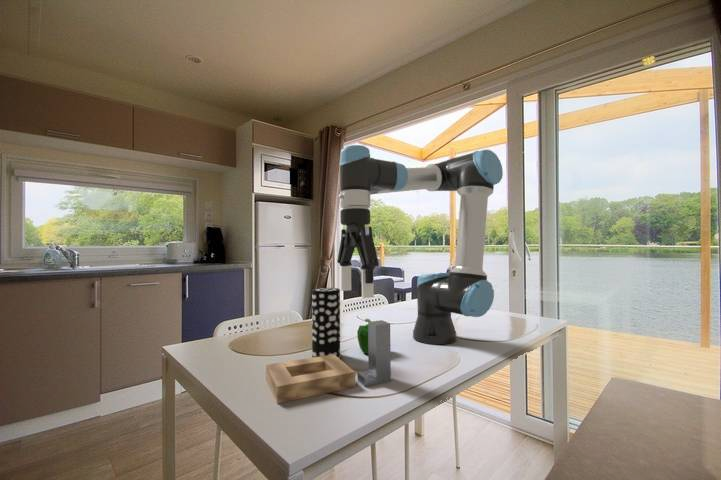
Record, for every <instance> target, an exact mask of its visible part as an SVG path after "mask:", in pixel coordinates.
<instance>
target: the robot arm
mask: <svg viewBox="0 0 721 480" xmlns="http://www.w3.org/2000/svg"><path fill="white" fill-rule="evenodd" d="M339 156H340V157H339V179H340V180H339V181H340V182H339V183H340V184H339V190H340V191H339V192H340V193H339V195H338V198H339V199H340V208H342V209H341V210H340V224H341V225H342V226H346V228H343V229H341V230H340V231H341V233H340V235H341V236H340V237H341V238H340V243H339V249H338V254H337V255H338V256H337V261H336V262H337V264H339V266H340V292H344V291H348V292H349V291H352V262H351V261H352V258H353V255H354V252H355V248H356V250H357V253H358V256H359V259H360V262H361V267H360V270H361V298H362V299H367V298H374V295H375V292H374V291H375V290H374V289H375V288H374V287H375V285H374V276H375V275H374V270H375V269H376V268H377V267H379V259H378V255H377V252H376V246H375V242H374V238H373V229H372V226H367V225H370V224H371V210H370V208H371V195H372V196H373V195H378V194H389V193H398V192H409V191H420V190H421V191H422V190H426V191H428V192H455V191H456V193H457V194H458V195H459V196H460V203H459V212H458V214H459V215H458V225H457V236H456V237H457V238H456V246H455V247H456V250H455V258H454V259H455V260H454V261H455V262H454V267H453V268H452V269H450V270H449V272H441V273H439V272H438V273H429V274H420V275H419V276H417V285H416V294H417V295H416V296H417V297H416V298H417V301H416V302H417V303H416V304H417V317H416V319H415V320H416V321H415V324H414V329H412V338H413V340H415V341H417V342H420V343H422V344H423V343H424V344H429V345H430V344H431V345H449V344H452V343H456V342H457V331H456V329H455V325H454V322H453V319H452V314H456V315H462V316H465V317H472V318H479V317H482V316H484V315H486V314H487V312H488V311H489V310H490V309H491V307H492V305H493V302H494V297H495V291H494V287H493V285H492V283H491V282H489V281H488V275H487V274H486V272H485V271H484V269H483V266H484V254H485V241H486V240H485V239H486V230H487V229H486V226H487V215H488V214H487V213H488V202H489V201H488V200H489V197H490V196H491V195H493V194H494V190H495V189H494V186H495V185H497V184H499V183H500V182H501V181H502V179H503V175H504V174H503V171H504V170H503V165H502V162H501V160H500V158H499V156H498V155H497V154H496V153H495V152H494V151H492V150H490V149H482V150H475V151H474V152H471V153H467V154H464V155H463V154H462V155H460V156H456V157H453V158H449V159H447V160H443V161H442V162H438V163H437V162H436V163H431V164H427V165H426V166H423V167H408V168H407V167H406V166H405V164H402V163H399V162H396V161H390V160H389V161H388V160H384V159H378V158H373V157H371V152H370V149H369V148H368V147H367V146H365V145H361V144H353V145H347V146H345V147H343V148H342V149H341V151H340V155H339Z"/></svg>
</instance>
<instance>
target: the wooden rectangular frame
mask: <svg viewBox="0 0 721 480" xmlns="http://www.w3.org/2000/svg"><path fill="white" fill-rule="evenodd" d="M265 380H266V382H267V384H268V386H269V388H270V391H271V393H272V396H273V398H274V400H275V401H276V404H282V403H285V402H290V401H296V400H300V399H304V398H309V397H314V396H319V395H325V394H329V393H334V392H338V391H343V390H344V391H345V390H347V389H352V388H356V371H355V370H354V369H352V368H351V367H350V366H349V365H348V364H347V363H345V362H344V361H343V360H342V359H340V358H338V357H337V356H335V355H334V354H332V355H326V356H320V357H313V358H312V357H309V358H301V359H296V360H290V361H282V362H277V363H271V364H270V363H269V364H265Z"/></svg>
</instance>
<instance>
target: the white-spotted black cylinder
mask: <svg viewBox="0 0 721 480" xmlns="http://www.w3.org/2000/svg"><path fill="white" fill-rule="evenodd" d="M311 343H312V344H311V353H312V354H311V358H313V357H320V356H326V355H332V354H334V355H335V356H337V357H338V358H339V359H340V358H341V288H337V287H318V288H313V289H312V290H311Z"/></svg>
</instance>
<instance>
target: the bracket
mask: <svg viewBox="0 0 721 480" xmlns="http://www.w3.org/2000/svg"><path fill="white" fill-rule="evenodd" d="M367 324H368V354H367V355H368V356H367V357H368V363H367V364H368V367H367V368H368V369H367V370H365V371H359V372H357V381H358V383H359V384H361V385H362V386H363V387H364V388H367V387H371V386H372V387H373V386H377V385H381V384H385V383H391V381H392V379H391V378H392V377H391V376H392V374H391V373H392V371H391V369H392V368H391V367H392V366H391V364H392V363H391V361H392V359H391V354H392V353H391V323H390V322H387V321H385V320H383V319H381V320H374V321H372V320H371V322H367Z"/></svg>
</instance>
